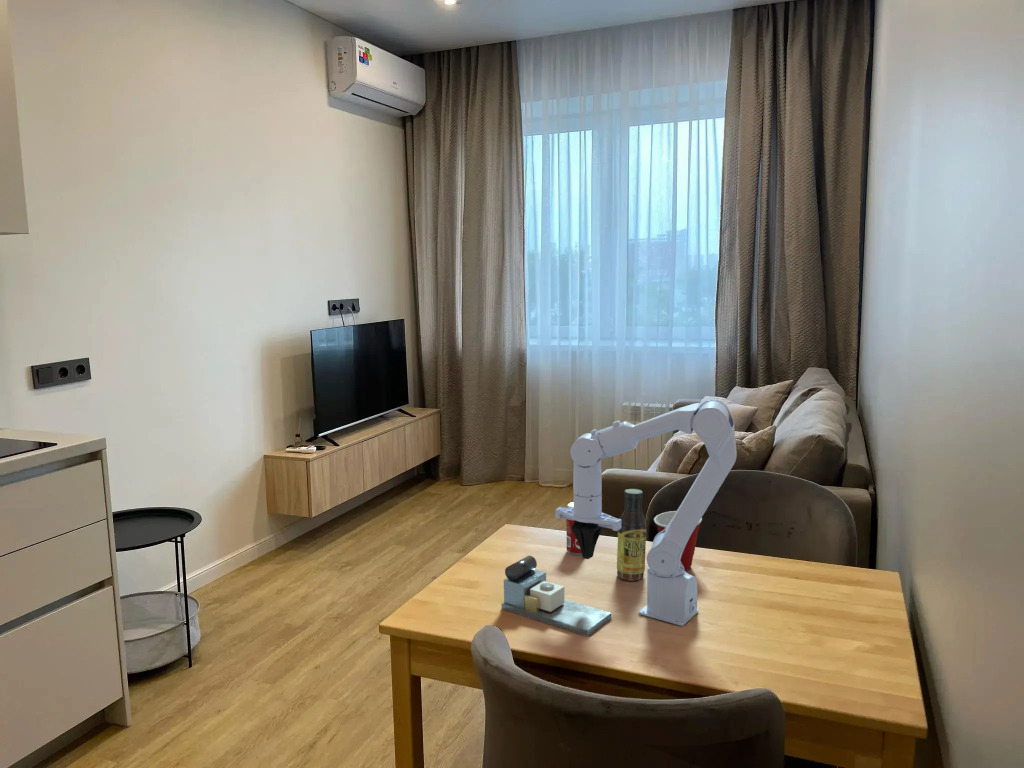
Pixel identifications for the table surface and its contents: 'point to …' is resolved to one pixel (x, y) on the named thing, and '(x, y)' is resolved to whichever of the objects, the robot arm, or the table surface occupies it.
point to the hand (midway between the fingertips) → (587, 557)
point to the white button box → (548, 595)
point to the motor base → (523, 603)
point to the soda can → (572, 537)
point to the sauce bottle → (632, 538)
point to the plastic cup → (689, 549)
